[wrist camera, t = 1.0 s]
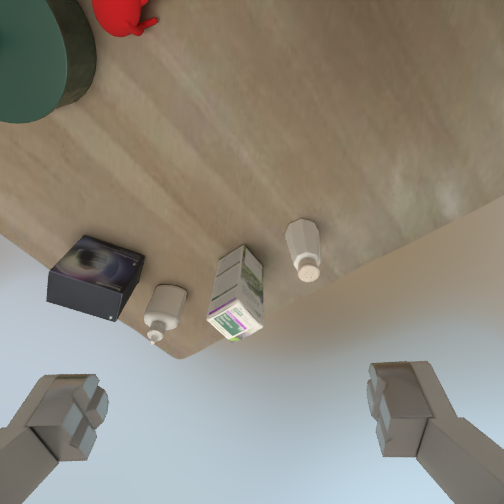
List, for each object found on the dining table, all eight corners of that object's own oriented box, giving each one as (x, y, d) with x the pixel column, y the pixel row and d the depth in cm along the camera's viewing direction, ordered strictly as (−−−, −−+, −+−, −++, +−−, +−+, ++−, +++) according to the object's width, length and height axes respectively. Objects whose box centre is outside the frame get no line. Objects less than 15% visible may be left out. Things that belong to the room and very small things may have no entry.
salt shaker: (285, 248, 54) (289, 292, 45) (283, 219, 51) (287, 259, 42) (319, 246, 54) (329, 289, 45) (318, 216, 51) (330, 255, 42)
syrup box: (217, 260, 56) (203, 321, 44) (244, 242, 54) (238, 301, 42) (238, 282, 58) (230, 346, 46) (265, 265, 56) (264, 328, 44)
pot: (-51, -48, 36) (-118, -66, 30) (85, -30, 36) (47, -44, 30) (-8, 99, 44) (-54, 109, 37) (104, 112, 44) (76, 125, 38)
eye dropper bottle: (164, 276, 58) (143, 326, 48) (191, 292, 60) (175, 344, 50) (152, 290, 60) (129, 341, 50) (178, 306, 62) (160, 358, 52)
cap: (136, 53, 40) (117, 55, 35) (93, 9, 38) (67, 5, 33) (178, -5, 37) (164, -12, 32) (134, -57, 35) (111, -73, 30)
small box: (146, 254, 56) (124, 294, 47) (139, 282, 59) (116, 324, 51) (83, 232, 54) (47, 270, 45) (79, 263, 58) (45, 303, 49)
